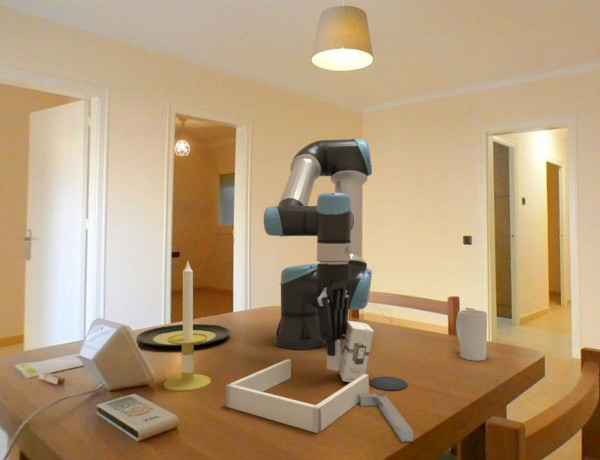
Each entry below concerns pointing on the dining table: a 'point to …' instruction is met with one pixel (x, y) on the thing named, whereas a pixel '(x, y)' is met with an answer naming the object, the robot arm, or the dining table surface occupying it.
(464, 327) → the mug
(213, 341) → the plate
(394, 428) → the crook tool
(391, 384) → the dark grey disc
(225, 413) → the dining table surface
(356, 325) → the ink box
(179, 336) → the candle
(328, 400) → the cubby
